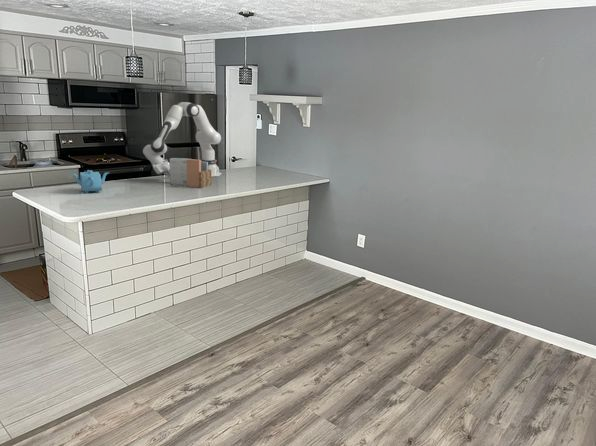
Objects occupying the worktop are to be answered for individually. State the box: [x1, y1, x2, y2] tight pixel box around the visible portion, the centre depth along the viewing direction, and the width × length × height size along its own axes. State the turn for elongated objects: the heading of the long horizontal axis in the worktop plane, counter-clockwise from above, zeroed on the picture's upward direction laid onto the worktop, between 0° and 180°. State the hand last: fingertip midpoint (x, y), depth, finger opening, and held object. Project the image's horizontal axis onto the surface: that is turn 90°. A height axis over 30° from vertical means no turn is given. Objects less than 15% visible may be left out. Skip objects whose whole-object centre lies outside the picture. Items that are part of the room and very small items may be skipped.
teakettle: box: [70, 169, 109, 194], centre depth 310 cm, size 19×19×15 cm
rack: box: [199, 169, 213, 189], centre depth 348 cm, size 18×2×12 cm, turn 166°
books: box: [186, 158, 208, 189], centre depth 348 cm, size 16×10×21 cm, turn 166°
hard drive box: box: [168, 157, 188, 186], centre depth 351 cm, size 16×8×20 cm, turn 84°
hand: (170, 176), depth 355 cm, fingers closed
